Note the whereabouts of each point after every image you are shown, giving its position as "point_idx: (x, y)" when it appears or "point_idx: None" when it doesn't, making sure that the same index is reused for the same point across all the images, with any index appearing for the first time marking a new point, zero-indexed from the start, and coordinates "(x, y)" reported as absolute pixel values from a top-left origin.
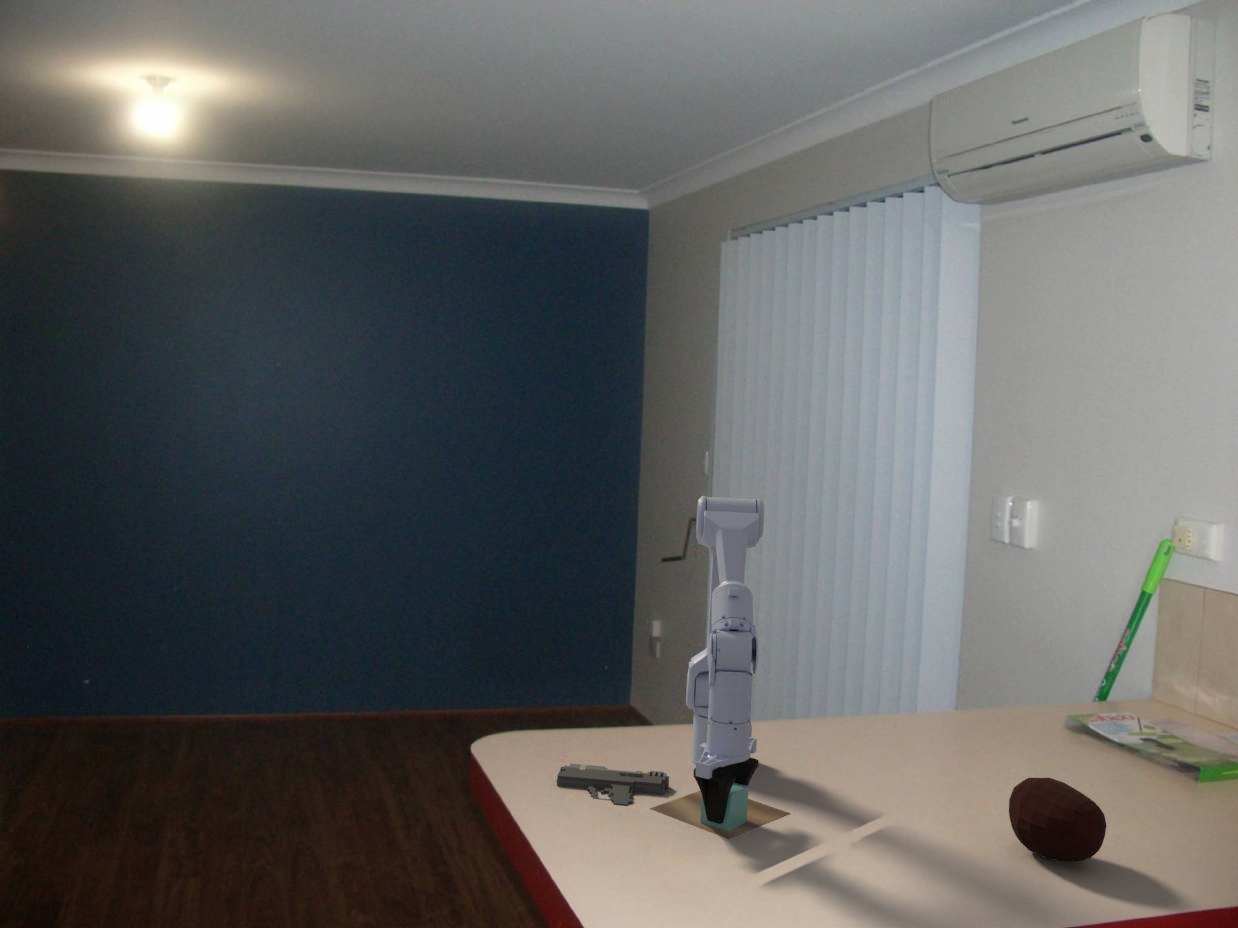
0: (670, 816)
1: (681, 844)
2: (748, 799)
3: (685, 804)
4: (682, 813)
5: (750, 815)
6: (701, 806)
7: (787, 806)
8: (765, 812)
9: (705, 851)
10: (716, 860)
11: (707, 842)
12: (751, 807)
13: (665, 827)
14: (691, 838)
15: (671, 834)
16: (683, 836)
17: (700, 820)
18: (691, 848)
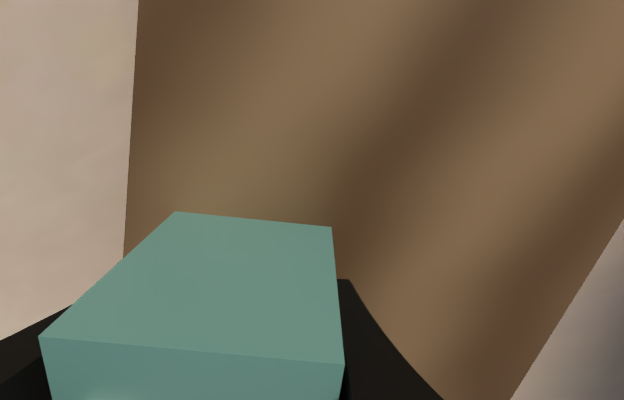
0: (136, 46)
1: (6, 203)
2: (583, 268)
3: (352, 31)
4: (219, 83)
5: (389, 338)
6: (136, 249)
7: (618, 361)
8: (453, 368)
9: (31, 295)
10: None
11: (103, 270)
12: (483, 311)
13: (98, 54)
14: (87, 208)
15: (54, 120)
16: (78, 173)
17: (169, 216)
18: (9, 248)
